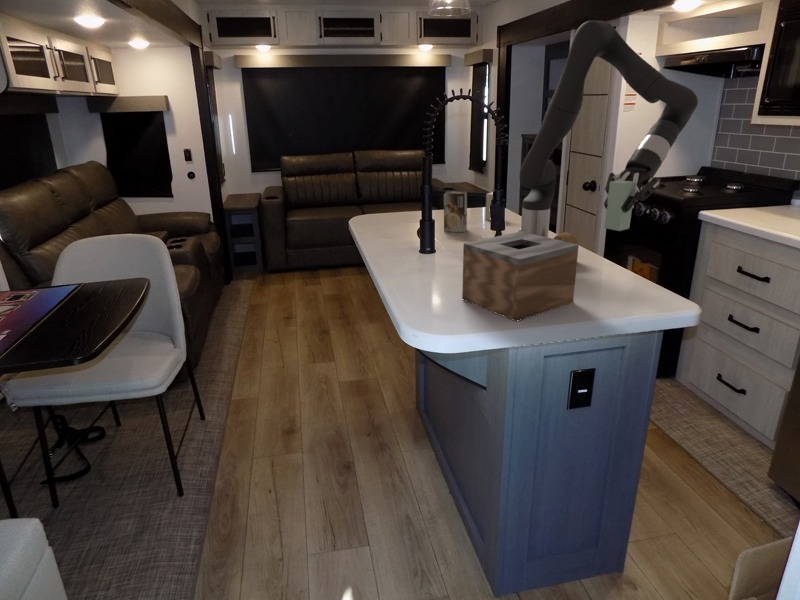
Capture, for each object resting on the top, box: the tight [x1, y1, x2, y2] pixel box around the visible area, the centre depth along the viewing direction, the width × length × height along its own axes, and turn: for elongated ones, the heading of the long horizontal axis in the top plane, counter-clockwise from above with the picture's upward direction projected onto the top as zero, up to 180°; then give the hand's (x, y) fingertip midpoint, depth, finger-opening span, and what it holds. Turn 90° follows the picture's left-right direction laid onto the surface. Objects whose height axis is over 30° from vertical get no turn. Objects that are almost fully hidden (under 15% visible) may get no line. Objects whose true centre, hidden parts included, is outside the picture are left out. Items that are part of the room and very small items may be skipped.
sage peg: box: [604, 179, 636, 232], centre depth 139 cm, size 4×4×12 cm
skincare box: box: [484, 191, 494, 221], centre depth 247 cm, size 6×4×12 cm
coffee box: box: [443, 191, 468, 233], centre depth 226 cm, size 9×6×16 cm
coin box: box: [461, 231, 580, 322], centre depth 144 cm, size 20×22×16 cm
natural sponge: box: [552, 232, 579, 245], centre depth 181 cm, size 9×9×10 cm
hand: (615, 208), depth 138 cm, fingers closed on sage peg, 4 cm apart
